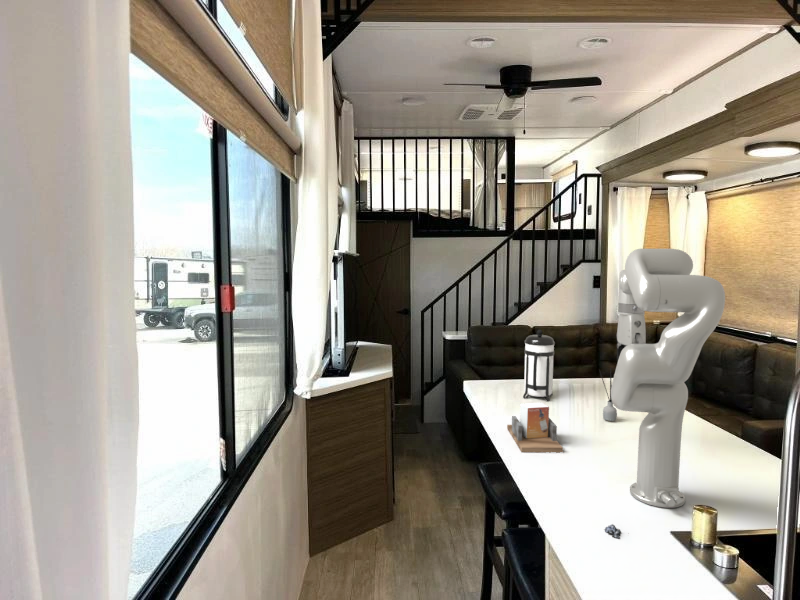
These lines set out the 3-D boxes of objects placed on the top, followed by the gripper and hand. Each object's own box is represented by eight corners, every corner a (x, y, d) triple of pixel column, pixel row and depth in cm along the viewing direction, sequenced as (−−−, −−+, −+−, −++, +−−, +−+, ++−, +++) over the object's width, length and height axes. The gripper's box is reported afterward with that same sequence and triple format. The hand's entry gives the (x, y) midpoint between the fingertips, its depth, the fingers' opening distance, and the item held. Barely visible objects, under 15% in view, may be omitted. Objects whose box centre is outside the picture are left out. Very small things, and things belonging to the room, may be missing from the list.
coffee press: (512, 394, 227) (513, 328, 224) (542, 391, 232) (544, 326, 229) (533, 404, 210) (535, 333, 208) (566, 401, 215) (568, 332, 213)
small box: (526, 439, 166) (527, 407, 165) (518, 433, 171) (519, 403, 170) (548, 437, 167) (549, 406, 166) (540, 431, 173) (541, 401, 172)
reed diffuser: (616, 425, 185) (619, 371, 183) (596, 422, 188) (598, 369, 186) (616, 417, 194) (618, 366, 193) (597, 415, 197) (599, 364, 195)
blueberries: (624, 528, 116) (624, 519, 116) (638, 544, 108) (638, 535, 108) (594, 527, 116) (594, 518, 116) (606, 543, 108) (606, 534, 108)
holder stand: (562, 452, 158) (563, 432, 158) (521, 452, 158) (521, 432, 158) (543, 429, 180) (544, 411, 180) (507, 428, 180) (507, 410, 180)
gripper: (657, 312, 147) (654, 370, 148) (630, 306, 164) (628, 358, 165) (631, 312, 147) (629, 370, 148) (607, 306, 164) (605, 358, 165)
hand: (628, 363), depth 157 cm, fingers open, 9 cm apart
